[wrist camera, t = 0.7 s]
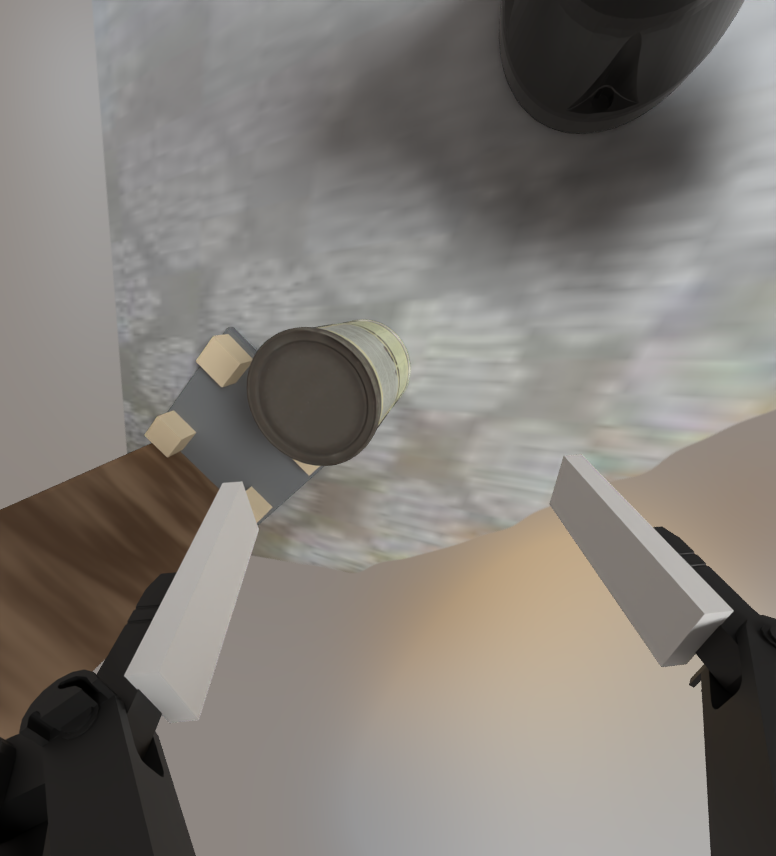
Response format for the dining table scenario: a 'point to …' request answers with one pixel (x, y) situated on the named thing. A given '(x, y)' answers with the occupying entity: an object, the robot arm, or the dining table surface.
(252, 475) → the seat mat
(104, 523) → the walnut shelf
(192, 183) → the dining table surface
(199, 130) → the dining table surface
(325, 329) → the coffee can
